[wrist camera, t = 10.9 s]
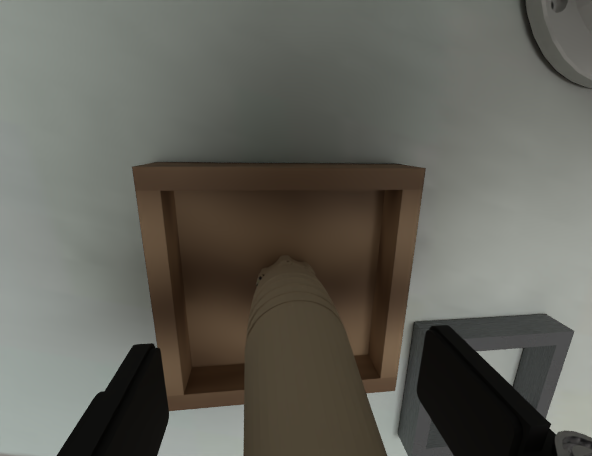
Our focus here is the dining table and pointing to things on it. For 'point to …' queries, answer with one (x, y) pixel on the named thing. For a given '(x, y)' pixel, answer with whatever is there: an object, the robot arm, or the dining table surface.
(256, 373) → the handle
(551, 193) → the dining table surface
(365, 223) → the tray
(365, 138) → the dining table surface
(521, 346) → the collar
